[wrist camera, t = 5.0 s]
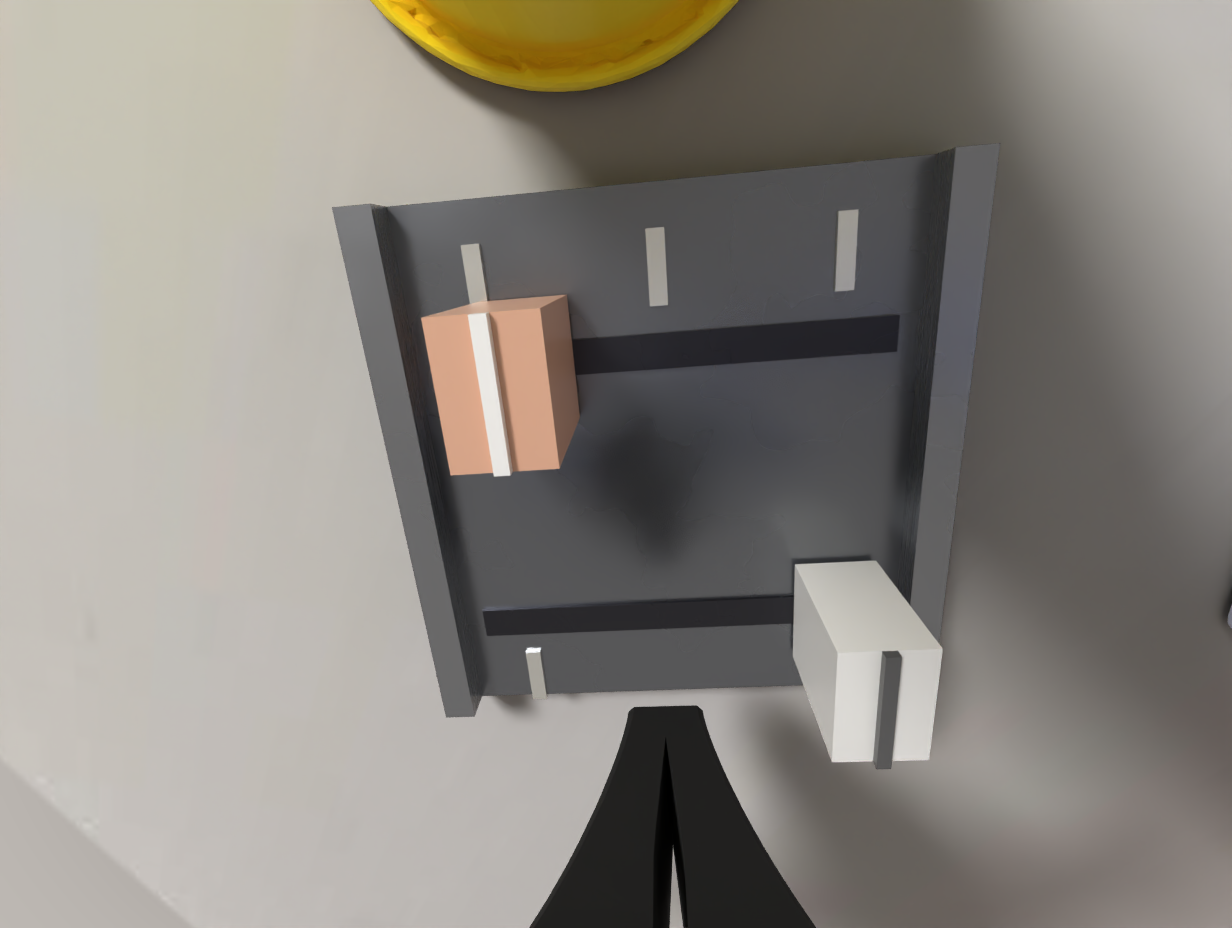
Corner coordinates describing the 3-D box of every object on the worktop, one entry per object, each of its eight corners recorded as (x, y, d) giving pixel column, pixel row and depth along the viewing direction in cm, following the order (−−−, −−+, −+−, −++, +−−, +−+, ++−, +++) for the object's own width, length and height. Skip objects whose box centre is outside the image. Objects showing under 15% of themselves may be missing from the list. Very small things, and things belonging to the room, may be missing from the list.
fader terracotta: (566, 294, 13) (537, 308, 9) (579, 417, 14) (558, 472, 10) (477, 301, 13) (416, 319, 9) (496, 423, 14) (447, 479, 10)
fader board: (948, 159, 13) (1000, 142, 11) (900, 655, 17) (931, 705, 15) (374, 213, 14) (331, 207, 12) (467, 672, 18) (446, 720, 16)
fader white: (875, 560, 15) (947, 655, 11) (868, 653, 16) (933, 767, 12) (794, 564, 15) (841, 659, 11) (792, 656, 16) (834, 770, 12)
